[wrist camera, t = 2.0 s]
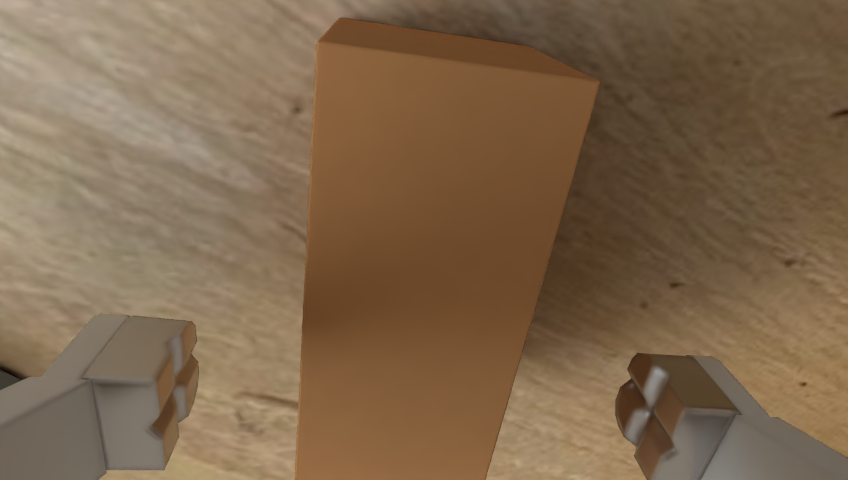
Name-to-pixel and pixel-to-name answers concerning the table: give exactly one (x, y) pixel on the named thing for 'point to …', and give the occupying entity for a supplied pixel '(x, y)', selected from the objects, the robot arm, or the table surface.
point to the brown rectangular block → (426, 244)
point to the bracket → (7, 380)
